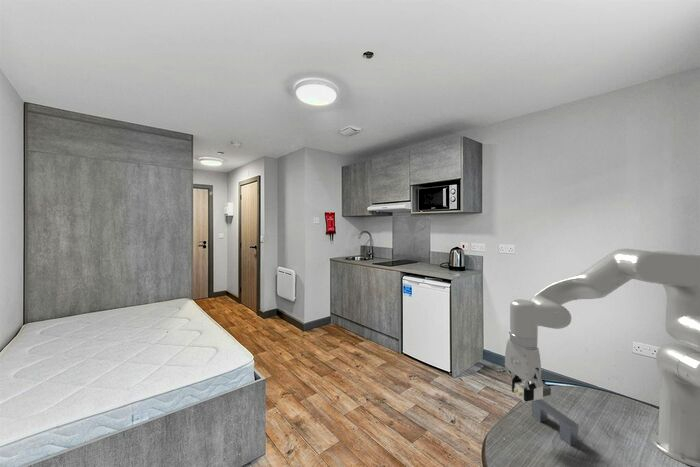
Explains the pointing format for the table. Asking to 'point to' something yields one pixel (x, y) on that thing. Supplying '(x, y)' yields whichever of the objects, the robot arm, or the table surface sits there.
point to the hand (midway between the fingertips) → (522, 395)
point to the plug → (538, 392)
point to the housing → (566, 425)
